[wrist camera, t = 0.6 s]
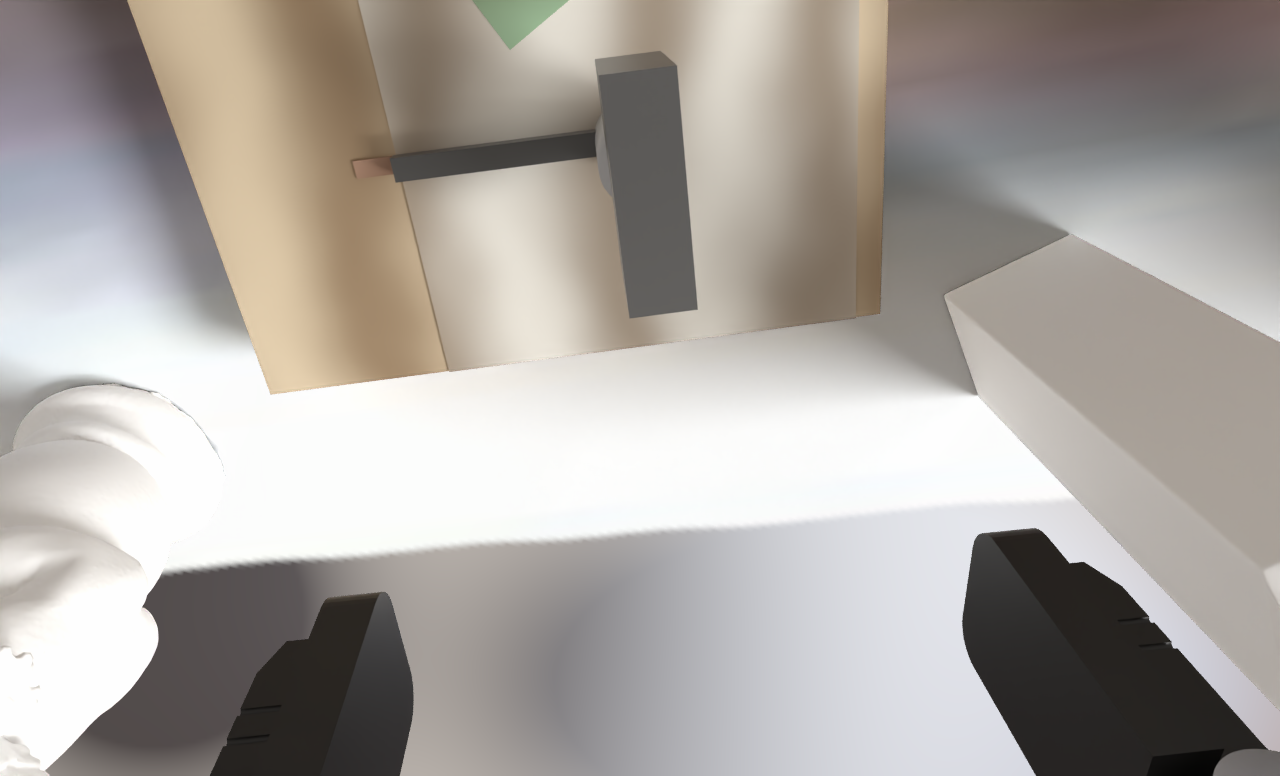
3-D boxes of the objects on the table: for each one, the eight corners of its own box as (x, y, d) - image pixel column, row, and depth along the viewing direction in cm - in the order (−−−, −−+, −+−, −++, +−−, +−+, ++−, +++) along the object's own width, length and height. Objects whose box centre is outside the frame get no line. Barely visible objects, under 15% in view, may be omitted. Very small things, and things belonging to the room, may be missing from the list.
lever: (655, 36, 26) (690, 63, 18) (672, 216, 29) (709, 308, 21) (374, 72, 26) (287, 115, 18) (417, 249, 29) (358, 354, 21)
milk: (940, 293, 36) (1371, 668, 16) (1073, 230, 35) (1695, 548, 16) (978, 399, 39) (1388, 833, 19) (1102, 344, 38) (1668, 738, 18)
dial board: (852, -227, 27) (896, -259, 24) (849, 279, 35) (881, 314, 32) (137, -139, 27) (68, -157, 23) (301, 351, 35) (269, 396, 31)
